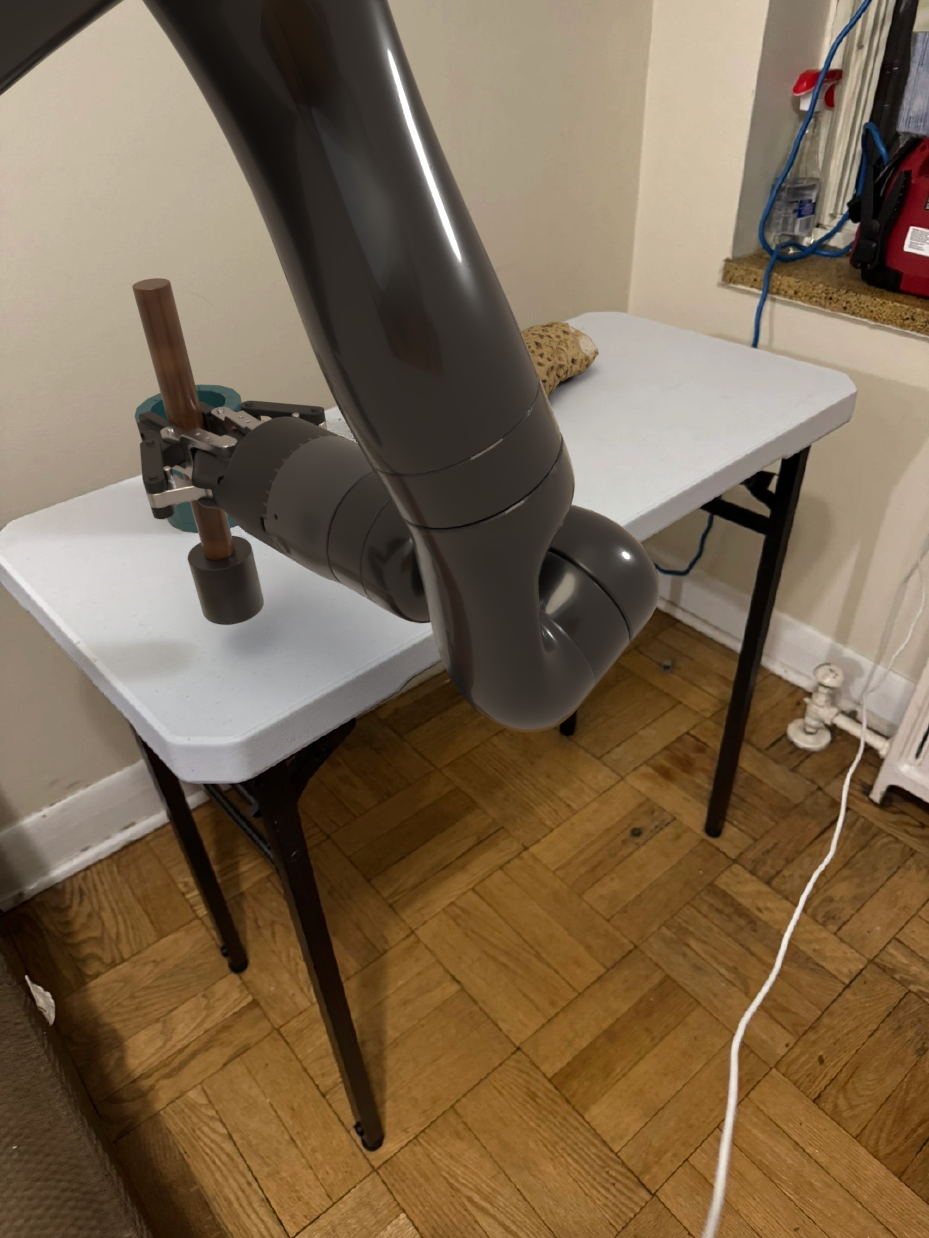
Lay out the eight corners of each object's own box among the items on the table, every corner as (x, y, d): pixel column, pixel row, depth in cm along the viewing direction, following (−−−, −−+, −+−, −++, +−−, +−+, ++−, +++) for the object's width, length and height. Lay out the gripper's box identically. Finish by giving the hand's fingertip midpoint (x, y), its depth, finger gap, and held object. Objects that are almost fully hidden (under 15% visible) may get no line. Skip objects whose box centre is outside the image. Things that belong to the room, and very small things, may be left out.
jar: (184, 543, 82) (153, 437, 76) (153, 503, 89) (122, 402, 82) (277, 511, 86) (255, 408, 79) (241, 474, 93) (218, 376, 86)
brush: (215, 633, 63) (123, 301, 49) (194, 602, 67) (101, 282, 52) (273, 610, 65) (201, 285, 51) (250, 582, 68) (176, 267, 54)
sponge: (536, 366, 115) (425, 382, 102) (553, 309, 111) (439, 317, 98) (610, 411, 109) (500, 434, 96) (631, 352, 104) (519, 367, 91)
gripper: (408, 399, 50) (238, 335, 60) (205, 490, 43) (48, 400, 53) (418, 511, 55) (258, 434, 65) (235, 611, 47) (86, 507, 57)
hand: (165, 419), depth 59 cm, fingers closed on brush
